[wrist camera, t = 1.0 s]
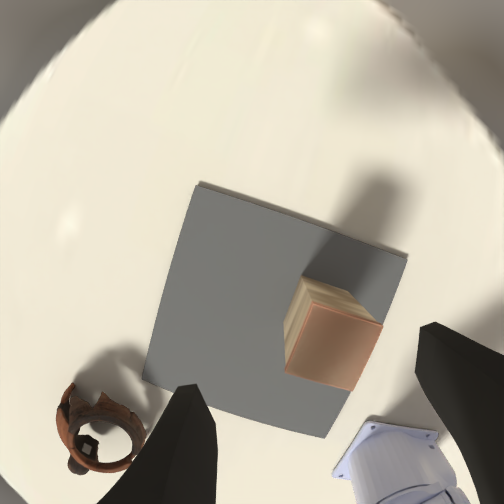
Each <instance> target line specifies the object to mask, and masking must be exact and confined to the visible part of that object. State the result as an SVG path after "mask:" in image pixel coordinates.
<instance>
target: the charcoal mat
mask: <svg viewBox="0 0 504 504" xmlns="http://www.w3.org/2000/svg"><path fill="white" fill-rule="evenodd" d="M406 263H407V259H405V258H402V257H400V256H397V255H394V254H392V253H389V252H387V251H384V250H381V249H379V248H376V247H374V246H371V245H368V244H366V243H363V242H360V241H358V240H355V239H352V238H350V237H347V236H344V235H342V234H339V233H336V232H333V231H331V230H328V229H325V228H322V227H320V226H317V225H314V224H311V223H308V222H306V221H303V220H300V219H297V218H294V217H291V216H288V215H286V214H283V213H280V212H277V211H274V210H271V209H268V208H265V207H262V206H259V205H256V204H253V203H250V202H247V201H244V200H241V199H238V198H235V197H232V196H229V195H226V194H223V193H219V192H216V191H213V190H210V189H207V188H204V187H200V186H197V185H196V186H195V189H194V192H193V195H192V198H191V201H190V204H189V207H188V210H187V213H186V216H185V219H184V223H183V226H182V229H181V232H180V235H179V239H178V242H177V245H176V249H175V252H174V255H173V259H172V262H171V266H170V269H169V273H168V276H167V280H166V283H165V287H164V291H163V294H162V298H161V302H160V305H159V309H158V313H157V317H156V321H155V325H154V329H153V333H152V337H151V341H150V345H149V349H148V353H147V357H146V362H145V366H144V371H143V375H142V380H145V381H147V382H149V383H151V384H154V385H156V386H159V387H161V388H163V389H166V390H168V391H171V392H173V393H174V392H175V390H176V388H177V387H178V386H183V385H190V384H197V385H198V388H199V390H200V392H201V394H202V396H203V398H204V400H205V403H206V405H207V406H210V407H213V408H216V409H219V410H222V411H225V412H228V413H231V414H234V415H237V416H240V417H244V418H247V419H250V420H253V421H257V422H260V423H264V424H267V425H271V426H275V427H278V428H282V429H286V430H290V431H294V432H298V433H302V434H306V435H311V436H315V437H320V438H325V437H326V436H327V434H328V432H329V431H330V429H331V427H332V425H333V424H334V422H335V420H336V418H337V417H338V415H339V413H340V411H341V409H342V407H343V406H344V404H345V402H346V400H347V398H348V396H349V394H350V392H351V391H349V390H345V389H341V388H337V387H333V386H330V385H326V384H322V383H318V382H315V381H311V380H308V379H304V378H301V377H297V376H294V375H290V374H287V373H285V366H286V363H285V343H284V324H283V322H284V319H285V316H286V314H287V311H288V308H289V306H290V303H291V300H292V298H293V295H294V292H295V290H296V287H297V284H298V282H299V279H300V276H301V275H302V276H305V277H308V278H311V279H314V280H317V281H320V282H322V283H325V284H328V285H331V286H334V287H337V288H340V289H343V290H346V291H348V292H349V293H350V294H351V295H352V296H353V297H354V298H355V299H356V300H357V301H358V302H359V303H360V304H361V305H362V306H363V307H364V308H365V309H366V310H367V311H368V312H369V313H370V315H371V316H372V317H373V318H374V319H375V320H376V321H377V322H379V323H381V324H382V325H383V322H384V320H385V318H386V315H387V313H388V310H389V308H390V306H391V303H392V301H393V298H394V295H395V293H396V290H397V288H398V285H399V282H400V280H401V277H402V274H403V271H404V269H405V266H406Z"/></svg>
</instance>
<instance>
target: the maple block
mask: <svg viewBox="0 0 504 504" xmlns="http://www.w3.org/2000/svg"><path fill="white" fill-rule="evenodd" d="M283 324H284V343H285V363H286V366H285V373H287V374H290V375H294V376H297V377H301V378H304V379H308V380H311V381H315V382H318V383H322V384H326V385H330V386H333V387H337V388H341V389H345V390H349V391H353V390H354V388H355V386H356V384H357V382H358V380H359V378H360V376H361V374H362V372H363V370H364V368H365V366H366V364H367V362H368V360H369V358H370V355H371V353H372V351H373V349H374V347H375V345H376V342H377V340H378V338H379V336H380V333H381V331H382V329H383V325H382V324H381V323H379V322H377V321H376V320H375V319H374V318H373V317H372V316H371V315H370V313H369V312H368V311H367V310H366V309H365V308H364V307H363V306H362V305H361V304H360V303H359V302H358V301H357V300H356V299H355V298H354V297H353V296H352V295H351V294H350V293H349V292H348V291H346V290H343V289H340V288H337V287H334V286H331V285H328V284H325V283H322V282H320V281H317V280H314V279H311V278H308V277H305V276H302V275H301V276H300V279H299V282H298V284H297V287H296V290H295V292H294V295H293V298H292V300H291V303H290V306H289V308H288V311H287V314H286V316H285V319H284V322H283Z"/></svg>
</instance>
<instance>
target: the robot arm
mask: <svg viewBox="0 0 504 504" xmlns="http://www.w3.org/2000/svg"><path fill="white" fill-rule="evenodd" d="M415 374H416V376H417V378H418V380H419V382H420V385H421V387H422V389H423V391H424V393H425V395H426V397H427V398H428V400H429V401H430V403H431V404H432V406H433V407H434V409H435V411H436V412H437V414H438V415H439V417H440V418H441V420H442V421H443V423H444V424H445V426H446V428H447V429H448V431H449V432H450V434H451V435H452V437H453V439H454V440H455V442H456V444H457V445H458V447H459V449H460V451H461V453H462V456H463V458H464V460H465V462H466V465H467V467H468V469H469V472H470V475H471V477H472V480H473V483H474V485H475V488H476V491H477V494H478V498H479V501H480V504H504V355H502V354H500V353H498V352H495V351H493V350H491V349H489V348H487V347H485V346H483V345H481V344H479V343H477V342H475V341H473V340H471V339H469V338H467V337H465V336H463V335H461V334H459V333H458V332H456V331H454V330H452V329H450V328H448V327H446V326H444V325H442V324H439V323H437V322H433V323H430V324H428V325H425V326H422V327H420V333H419V343H418V351H417V359H416V367H415ZM374 425H375V426H374ZM372 426H374V427H372ZM427 434H428V435H427ZM438 435H439V433H438V432H437V431H432V430H424V429H417V428H410V427H403V426H397V425H391V424H385V423H379V422H374V421H367V422H365V423H364V424H363V426H362V428H361V429H360V431H359V432H358V434H357V436H356V437H355V439H354V440H353V442H352V444H351V445H350V447H349V448H348V450H347V451H346V453H345V454H344V456H343V457H342V459H341V460H340V462H339V463H338V465H337V466H336V468H335V469H334V471H333V472H332V477H333V478H338V479H345V480H351V482H352V486H353V491H354V495H355V499H356V503H357V504H470V502H469V500H468V498H467V497H466V495H465V494H464V492H463V491H462V490H461V489H460V488H459V487H456V485H457V480H456V474H455V472H454V470H453V468H452V467H451V465H450V463H449V462H448V460H447V459H446V457H445V456H444V454H443V452H442V451H441V449H440V448H439V446H438V445H437V443H436V442H435V440H436V439H437V437H438ZM217 459H218V447H217V434H216V423H215V421H214V419H213V417H212V415H211V413H210V411H209V409H208V407H207V405H206V403H205V400H204V398H203V396H202V394H201V392H200V390H199V388H198V385H197V384H190V385H183V386H178V387H177V388H176V390H175V392H174V394H173V395H172V397H171V399H170V401H169V403H168V405H167V407H166V408H165V410H164V412H163V414H162V416H161V417H160V419H159V421H158V423H157V424H156V426H155V428H154V429H153V431H152V433H151V434H150V436H149V438H148V439H147V441H146V443H145V444H144V446H143V447H142V449H141V450H140V452H139V453H138V455H137V456H136V457H135V459H134V460H133V462H132V463H131V465H130V466H129V467H128V469H127V470H126V471H125V473H124V474H123V475H122V476H121V478H120V479H119V480H118V481H117V482H116V484H115V485H114V486H113V487H112V488H111V489H110V490H109V491H108V493H107V494H106V495H105V496H104V497H103V498H102V499H101V500H100V501H99V502H98V503H97V504H216V482H217ZM340 474H342V475H340Z"/></svg>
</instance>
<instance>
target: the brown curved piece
mask: <svg viewBox="0 0 504 504" xmlns="http://www.w3.org/2000/svg"><path fill="white" fill-rule="evenodd" d="M74 387H75V384H74V383H72V384H71V385H70V386H69V387H68V388H67V389H66V391H65V392H64V394H63V396H62V399H61V403H60V404H59V406H58V408H57V414H56V424H57V429H58V433H59V436H60V438H61V440H62V442H63V443H64V445H65V446H66V447H67V448H68V450H69V452H70V458H69V460H68V468H69V470H70V471H71V472H72V473H75V474H78V475H84V474H86V473H87V472H88V471H89V469H90V470H93V471H97V472H102V473H115V472H119V471H123V470H125V469H127V468H128V467H129V466H130V465H131V463H132V459H133V458H134V457H135V455H137V454H138V453H139V452H140V450H141V449H142V447H143V445H144V443H145V439H146V431H145V429H144V426H143V424H142V422H141V420H140V419H139V418H138V416H137V415H136V414H135V413H134V412H130V411H129V409H128V408H127V407H125V406H123V405H120V404H118V403H116V402H114V401H113V400H111V399H110V398H109V397H108V396H107V395H106V394H105V393H104V392H102V393H101V396H100V398H99V399H98V402H97V403H96V405H95V406H94V407H93V408H92V407H91V406H90V404H89V403H88V402H86V401H84V400H82V399H80V398H79V397H77V396H74V397H71V398H70V394H71V392H72V390H73V388H74ZM69 398H70V402H69ZM93 421H105V422H109V423H112V424H115V425H118V426H119V427H121V428H122V429H124V430H125V431H126V432H127V434H128V435H129V436H130V438H131V440H132V451H131V453H130V454H129V455H128V456H126V457H125V458H123V459H121V460H119V461H116V462H111V463H101V462H99V461H98V455H97V452H98V444H99V442H98V441H97V440H96V439H94V438H92V437H91V436H90V435H78V433H79V431H80V427H81V426H82V425H84V424H87V423H89V422H93Z"/></svg>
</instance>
